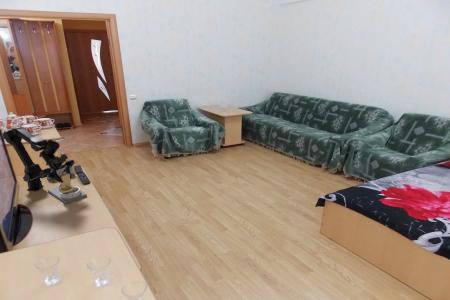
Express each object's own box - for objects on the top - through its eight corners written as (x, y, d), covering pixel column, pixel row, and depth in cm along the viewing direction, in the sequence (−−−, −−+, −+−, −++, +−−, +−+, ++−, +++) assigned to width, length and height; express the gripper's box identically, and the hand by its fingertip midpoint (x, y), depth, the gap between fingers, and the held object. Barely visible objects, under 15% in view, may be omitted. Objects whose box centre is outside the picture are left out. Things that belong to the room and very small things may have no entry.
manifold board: (47, 191, 171) (46, 185, 169) (68, 185, 180) (66, 178, 179) (66, 204, 158) (64, 196, 157) (86, 196, 167) (85, 189, 166)
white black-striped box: (72, 171, 200) (71, 160, 195) (74, 175, 198) (73, 164, 192) (45, 176, 191) (43, 165, 185) (47, 181, 188) (45, 170, 182)
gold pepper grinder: (58, 193, 158) (55, 175, 154) (61, 188, 164) (58, 170, 160) (72, 192, 160) (69, 174, 156) (74, 187, 166) (71, 169, 162)
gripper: (39, 156, 147) (56, 179, 147) (70, 146, 163) (86, 167, 163) (32, 167, 153) (49, 189, 153) (63, 156, 169) (78, 177, 169)
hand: (66, 180), depth 159 cm, fingers closed on gold pepper grinder, 5 cm apart
